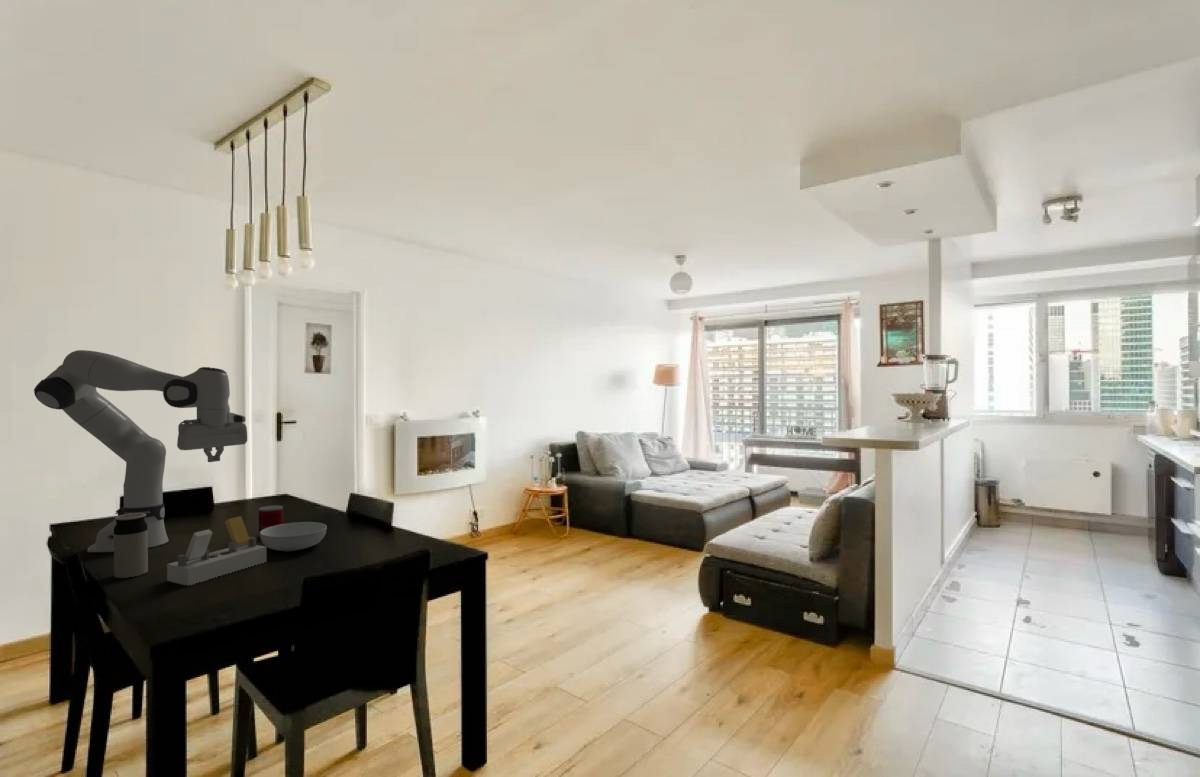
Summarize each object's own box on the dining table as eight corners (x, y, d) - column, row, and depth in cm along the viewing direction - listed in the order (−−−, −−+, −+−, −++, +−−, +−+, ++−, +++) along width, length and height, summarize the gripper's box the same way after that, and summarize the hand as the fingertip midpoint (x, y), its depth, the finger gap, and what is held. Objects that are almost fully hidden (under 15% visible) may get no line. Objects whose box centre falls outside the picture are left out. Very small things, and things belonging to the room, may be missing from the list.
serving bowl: (299, 558, 193) (299, 538, 193) (245, 555, 197) (245, 534, 197) (339, 541, 214) (339, 522, 214) (289, 538, 218) (289, 520, 218)
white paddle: (182, 560, 172) (192, 533, 170) (200, 555, 176) (210, 529, 174) (186, 563, 171) (196, 536, 169) (203, 558, 176) (213, 532, 174)
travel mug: (152, 573, 179) (152, 514, 178) (121, 580, 172) (120, 519, 172) (140, 568, 183) (140, 511, 182) (109, 576, 176) (108, 516, 176)
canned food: (287, 535, 222) (287, 506, 222) (265, 540, 215) (265, 510, 215) (276, 532, 226) (275, 504, 226) (254, 537, 219) (254, 508, 219)
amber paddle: (234, 549, 185) (223, 521, 187) (249, 545, 190) (239, 518, 192) (237, 547, 185) (227, 519, 186) (252, 543, 189) (242, 515, 191)
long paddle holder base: (167, 581, 172) (167, 554, 171) (246, 558, 193) (245, 534, 193) (188, 586, 167) (188, 558, 167) (266, 562, 189) (266, 538, 189)
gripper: (184, 420, 175) (185, 466, 175) (250, 416, 194) (250, 458, 194) (172, 420, 178) (172, 465, 178) (237, 416, 196) (238, 457, 197)
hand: (213, 461), depth 186 cm, fingers closed
